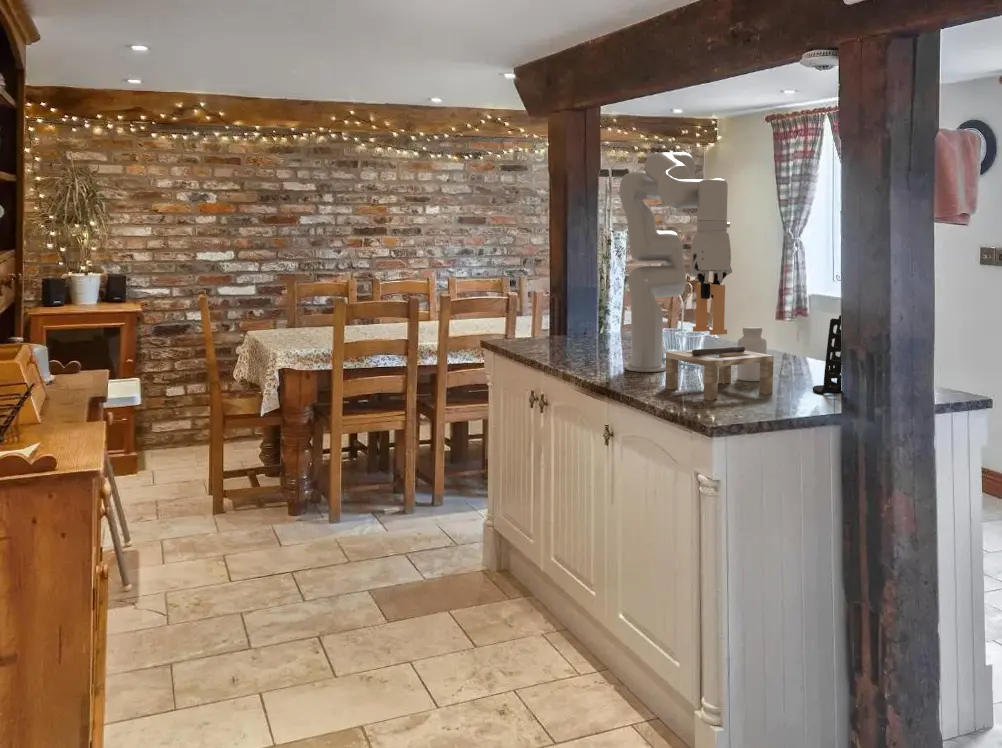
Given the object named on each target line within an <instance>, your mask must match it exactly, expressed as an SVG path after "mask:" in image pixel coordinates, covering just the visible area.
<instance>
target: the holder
mask: <svg viewBox="0 0 1002 748" xmlns="http://www.w3.org/2000/svg"><path fill="white" fill-rule="evenodd" d="M841 316H842V315H841V314H840V315H839V316H838V318H831V319H830V321H829V328H828V336H827V345H826V356H825V363H824V364H825V365H824V373H823V385H819V384H817V385H814V386H813V387H812V391H813V392H814V393H816V394H819V395H821V396H822V395H825V394H827V393H837V394H841V393H840V392H841V375H842V372H841V330H842V329H841V326H842V325H841ZM835 326H836V330H835V329H834V328H835ZM834 330H835V332H834ZM833 340H834V342H833ZM836 353H840V355H839V356H838V355H837V354H836ZM832 379H836V381H833V380H832Z"/></svg>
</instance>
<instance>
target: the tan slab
mask: <svg viewBox="0 0 1002 748" xmlns="http://www.w3.org/2000/svg"><path fill="white" fill-rule="evenodd" d="M709 284H710V296H711V295H713V298H712V299H713V300H712V301H713V303H712V329H710V326H709V325H708V299H703V298H701V283H699V282H698V283H696V297H695V299H696V301H695V302H696V303H695V326H692V332H696V333H699V332H709V335H712V336H719V335H727V334H728V329H727V328H725V312H726V311H725V309H726V308H725V307H726V306H725V305H726V304H725V300H726V285H724V284H720V285H717V284H711V283H709Z"/></svg>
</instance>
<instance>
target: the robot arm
mask: <svg viewBox="0 0 1002 748" xmlns="http://www.w3.org/2000/svg"><path fill="white" fill-rule="evenodd" d="M696 165H697V164H696V161H695V159H694V157H693V156H692V155H691V154H690V153H687V152H682V151H680V152H679V151H678V152H677V151H675V152H667V151H665V152H664V151H662V152H655V153H653V154H651V155H650V156H648V157H647V158H646V160H645V162H644V170H637V171H636V170H635V171H630V172H628V173H626V174H625V175H623V176H622V178H621V180H620V184H619V197H620V203H621V205H622V208H623V211H624V214H625V217H626V223H627V233H628V234H627V235H628V242H629V243H628V244H629V251H630V256H631V258H632V259H633V261H634V262H638V263H663V264H664V265H644V266H643V265H641V266H638V267H635V268H634V269H632V270H631V271H630V272H629V274H628V277H627V280H628V281H627V284H628V290H629V296H630V307H631V308H630V318H631V320H630V321H631V325H630V327H631V328H630V330H631V331H630V333H631V337H630V341H631V343H630V348H631V349H630V354H629V355H627V359H628V360H629V361H630V362H629V363H627V364H625V369H626V371H630V372H638V373H657V372H658V373H659V372H664V371H665V372H666V363H663V329H664V328H663V326H664V325H663V323H664V319H663V317H664V316H663V315H664V313H663V309H662V307H661V306H660V304H659V303H658V302H657V300H656V299H657V298H669V297H673V298H674V297H679V296H681V295H683V293H684V292H685V290H686V287H687V286H686V285H687V277H686V275H687V274H686V268H685V267H686V266H685V258H684V247H683V242H682V239H681V237H680V235H679V234H678V233H677V232H675V231H672V230H658V229H657V225H656V217H655V213H654V212H653V211H652V208H650V206H649V205H648V204H647V203H646V202H645V200H646V201H647V200H651V201H652V200H654V201H655V200H657V201H658V200H661V201H662V202H663V203H664V204H665V205H667V206H669V207H671V208H673V209H697V215H696V219H697V222H696V233H694V234H693V237H692V241H691V245H690V253H689V254H690V258H689V268H690V269H689V272H688V273H689V275H691V276H692V277H694V278H696V280H697V281H698V283H701V298H703V299H707V300H710V298H712V299H713V295H710V284H717V285H721V284H722V283H723V280H724V279H725V278H726V277H727V276H728V275H730V274H732V273H733V269H732V267H731V264H732V263H731V262H732V254H731V253H732V251H731V239H730V235H729V232H727V230H728V228H730V227H731V224H730V222H728V191H729V190H728V189H729V187H728V184H729V183H728V181H726V179H724V178H723V179H722V178H707V179H706V178H705V179H704V178H703V179H698V178H697V179H695V178H694V177H695V174H696V170H697V169H696V167H697V166H696ZM693 178H694V179H693ZM710 272H712V282H711V283H709V278H710Z"/></svg>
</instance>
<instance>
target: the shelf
mask: <svg viewBox="0 0 1002 748" xmlns="http://www.w3.org/2000/svg"><path fill="white" fill-rule="evenodd" d="M711 356H712V357H711ZM713 356H718V358H716V357H715V358H714V357H713ZM679 361H681V362H685V363H689V364H694V365H698V366H704V367H703V368H704V372H703V373H704V374H703V379H704V380H703V383H704V384H703V399H704V400H707V401H713V400H714V399H717V400H718V387H719V385H718V383H719V384H721V383H722V384H721V385H726V384H725V383H729V384H731V382H732V381H731V380H732V366H737V365H740V364H751V363H760V381H759V388H758V389H759V391H758V393H759V394H762V393H763V395H770V394H773V392H774V391H773V389H774V388H773V387H774V355H771V354H767V353H766V354H762V353H756V352H751V351H745V347H744V346H738V345H736V346H723V347H710V348H709V347H708V348H697V349H686V350H674V351H665V365H666V370H665V379H664V380H665V381H664V382H665V385H664V387H665V389H666V390H677V389H679ZM714 401H715V400H714Z"/></svg>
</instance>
